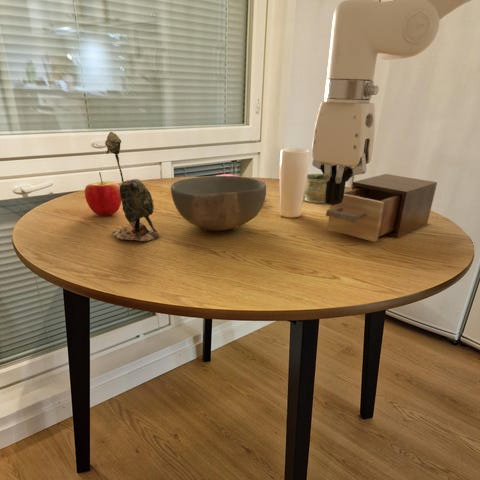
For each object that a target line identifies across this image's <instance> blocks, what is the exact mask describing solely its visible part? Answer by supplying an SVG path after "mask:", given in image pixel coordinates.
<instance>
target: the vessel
mask: <svg viewBox="0 0 480 480" xmlns="http://www.w3.org/2000/svg"><path fill="white" fill-rule="evenodd" d="M326 185H327V181H325V179H324V174H323V173H308V175H307V181H306V187H305V192H304V198H303V201H305V202H309V203H313V204H326V203H325V200H326V197H325V194H326Z"/></svg>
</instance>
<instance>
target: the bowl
mask: <svg viewBox="0 0 480 480" xmlns="http://www.w3.org/2000/svg"><path fill="white" fill-rule="evenodd" d="M238 176H239V175H236V176H218V175H217V176H216V175H213V176H211V175H209V176H201V177H199V176H198V177H191V178H185V179H180V180H177V181H174V182H173V183H172V184H171V186H170V194H171V198H172V201H173V203H174V207H175V208H176V210H177V213H179V215H180V216H182V218H183V219H184V220H185V221H187V222H188V223H190V224H191V225H194V226H196V227H198V228H201V229H204V230H209V231H215V232H217V231H219V232H220V231H227V230H231V229H234V228H238V227H241V226H243V225H245V224H247V223H249V222H251V221H252V220H253V219H254V218H255V217H256V216H258V214H259V213H260V212H261V210H262V208H263V206H264V204H265V201H266V196H267V185H266V182H265V183H263V182H261V181H262V180H260V179H256V178H251V177H245V176H241V177H238ZM259 180H260V181H259Z"/></svg>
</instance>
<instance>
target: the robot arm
mask: <svg viewBox="0 0 480 480" xmlns="http://www.w3.org/2000/svg"><path fill="white" fill-rule="evenodd" d="M470 1H471V0H386V1H378V0H343V1H341V2H339V3H338V4H337V5H336V7H335V8H334V12H333V17H332V23H331V24H332V26H331V35H330V44H329V52H328V53H329V54H328V63H327V70H326V71H327V72H326V80H325V91H324V98H323V100H321V102H320V105H319V108H318V112H317V116H316V120H315V125H314V131H313V136H312V143H311V145H312V146H311V157H312V159H313V160H312V163H311V164H312V166H313V167H314V168H316V169H318V170H320V171H321V174H324V179H325V181H327V185H326V194H325V197H326V200H325V203H324V204H325V205H329V206H330V205H336V204H339V203H341V202H342V199H343V197H344V191H346V190H345V189H346V183H347V182H349V180H350V179H351V178H352V177H354V176H357V175H365V174H366V173H367V165H368V164H369V163H370V162H371V160H372V157H373V148H374V141H375V130H376V129H375V126H376V113H375V112H376V110H375V108H376V107H375V103H374V102H371V100H372V96H377V95H378V93H379V86H378V85H374V82H375V81H374V76H375V69H376V64H377V58H379V59H381V60H387V61H389V60H398V59H399V60H400V59H408V58H413V57H416V56H418V55H420V54H421V53H423V52H424V51H425V50H427V49H428V48H429V47H430V46H431V45H432V44H433V42H434V41H435V38H436V37H437V34H438V32H439V29H440V28H439V27H440V21H441V20H442V19H443V18H444V17H446V16H447V15H449V14H450V13H452V12H453V11H454V10H457V9H458V8H460V7H461V6H463V5H465V4H467V3H469V2H470Z"/></svg>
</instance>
